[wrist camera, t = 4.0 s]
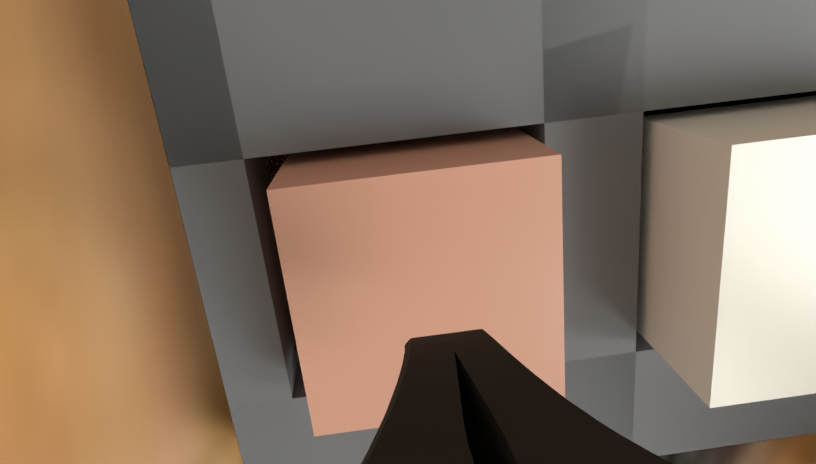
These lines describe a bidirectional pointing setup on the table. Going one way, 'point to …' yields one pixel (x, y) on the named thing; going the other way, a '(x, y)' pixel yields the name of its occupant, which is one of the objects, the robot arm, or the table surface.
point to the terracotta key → (417, 260)
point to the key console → (442, 115)
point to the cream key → (731, 248)
